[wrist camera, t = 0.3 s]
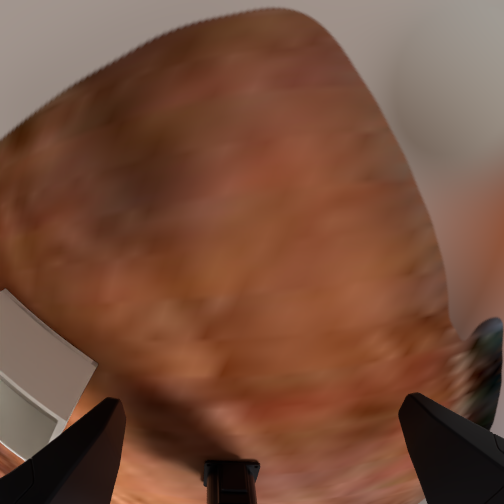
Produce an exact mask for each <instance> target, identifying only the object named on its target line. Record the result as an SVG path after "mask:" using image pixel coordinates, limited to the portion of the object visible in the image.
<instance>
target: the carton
mask: <svg viewBox="0 0 504 504" xmlns="http://www.w3.org/2000/svg"><path fill="white" fill-rule="evenodd" d="M97 366H98V363H96V362H95V361H94V360H92V359H91V358H89V357H88V356H86V355H85V354H84V353H82V352H81V351H79V350H78V349H77V348H75V347H74V346H73V345H71V344H70V343H69V342H67V341H66V340H65V339H63V338H62V337H61V336H60V335H58V334H57V333H56V332H54V331H53V330H52V329H51V328H50V327H48V326H47V325H46V324H45V323H43V322H42V321H41V320H40V319H39V318H38V317H36V316H35V315H34V314H33V313H32V312H31V311H29V310H28V309H27V308H26V307H25V306H24V305H23V304H22V303H21V302H20V301H18V300H17V299H16V298H15V297H14V296H13V295H12V294H11V293H10V292H9V291H8V290H7V289H6V288H5V289H4V290H2V291H1V292H0V443H2V444H3V445H4V446H5V447H7V448H8V449H9V450H11V451H12V452H13V453H15V454H16V455H17V456H19V457H20V458H21V459H23V460H24V461H27V460H28V459H29V458H31V457H32V456H33V455H34V454H36V453H37V452H38V451H40V450H41V449H42V448H43V447H45V446H46V445H47V444H49V443H50V442H51V441H52V440H54V439H55V438H56V437H58V436H59V435H60V434H61V433H62V432H63V430H64V428H65V426H66V424H67V422H68V420H69V418H70V416H71V414H72V412H73V410H74V408H75V406H76V404H77V402H78V400H79V399H80V397H81V395H82V393H83V391H84V389H85V387H86V386H87V384H88V382H89V380H90V378H91V376H92V375H93V373H94V371H95V369H96V368H97ZM31 459H32V458H31Z"/></svg>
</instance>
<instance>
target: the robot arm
mask: <svg viewBox="0 0 504 504" xmlns="http://www.w3.org/2000/svg"><path fill="white" fill-rule="evenodd" d="M398 416H399V420H400V424H401V427H402V431H403V434H404V438H405V442H406V445H407V449H408V452H409V455H410V458H411V460H412V463H413V465H414V468H415V471H416V473H417V476H418V479H419V481H420V484H421V487H422V489H423V492H424V495H425V498H426V501H427V504H504V438H502V437H500V436H498V435H496V434H493V433H492V432H490V431H488V430H486V429H484V428H482V427H481V426H479V425H477V424H475V423H473V422H471V421H469V420H467V419H466V418H464V417H462V416H460V415H458V414H456V413H455V412H453V411H451V410H449V409H447V408H445V407H444V406H442V405H440V404H438V403H436V402H435V401H433V400H431V399H429V398H428V397H426V396H424V395H422V394H421V393H418V392H416V393H411V394H408V395H407V396H406V398H405V400H404V402H403V404H402V406H401V408H400V409H399V413H398ZM125 426H126V416H125V412H124V409H123V405H122V402H121V400H120V399H117V398H112V397H107V398H105V399H104V400H103V401H101V402H100V403H99V404H98V405H96V406H95V407H94V408H93V409H92V410H90V411H89V412H88V413H87V414H85V415H84V416H83V417H82V418H80V419H79V420H78V421H76V422H75V423H74V424H73V425H71V426H70V427H69V428H68V429H66V430H65V431H64V432H63V433H61V434H60V435H59V436H58V437H56V438H55V439H54V440H52V441H51V442H50V443H49V444H47V445H46V446H45V447H43V448H42V449H41V450H40V451H38V452H37V453H36V454H34V455H33V456H32V457H31V458H32V459H31V458H29V459H28V460H27V461H25V462H24V463H23V464H21V465H20V466H18V467H17V468H16V469H14V470H13V471H11V472H10V473H8V474H7V475H5V476H3V477H2V478H0V504H110V501H111V497H112V493H113V489H114V485H115V481H116V477H117V474H118V470H119V466H120V460H121V453H122V446H123V439H124V432H125ZM259 469H260V463H258V462H225V461H209V460H208V461H205V463H204V486H205V487H207V504H257V498H256V490H255V482H256V479H257V476H258V473H259Z"/></svg>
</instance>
